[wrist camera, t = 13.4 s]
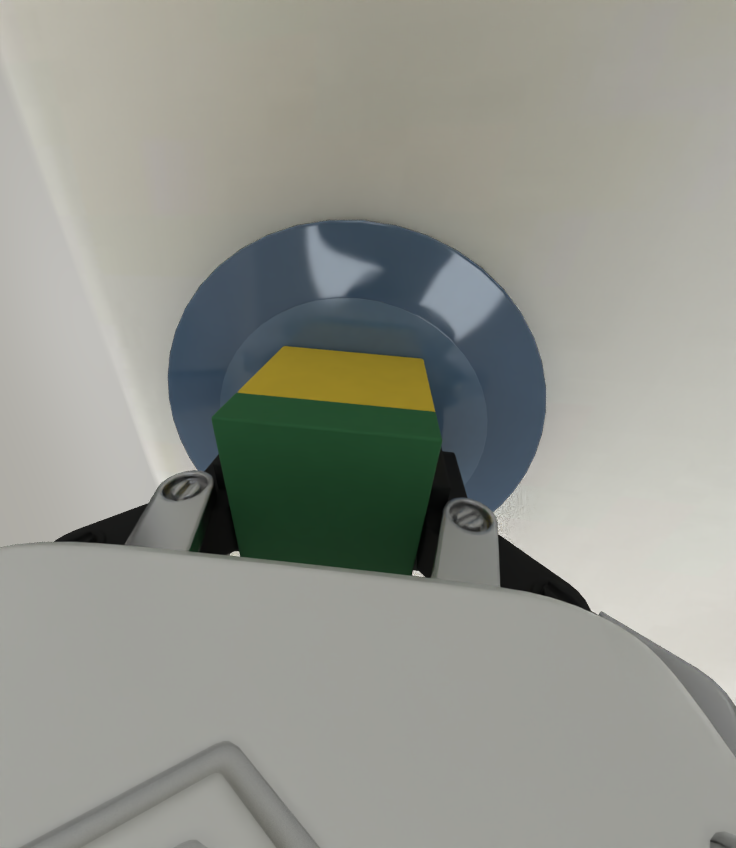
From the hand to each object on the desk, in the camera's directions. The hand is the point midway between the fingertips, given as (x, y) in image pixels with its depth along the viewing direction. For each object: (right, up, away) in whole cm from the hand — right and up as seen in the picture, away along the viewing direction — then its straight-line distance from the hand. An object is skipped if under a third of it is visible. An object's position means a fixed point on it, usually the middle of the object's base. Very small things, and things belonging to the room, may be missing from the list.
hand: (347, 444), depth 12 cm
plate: (0, +1, +1) cm, 1 cm away
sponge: (0, 0, 0) cm, 0 cm away
